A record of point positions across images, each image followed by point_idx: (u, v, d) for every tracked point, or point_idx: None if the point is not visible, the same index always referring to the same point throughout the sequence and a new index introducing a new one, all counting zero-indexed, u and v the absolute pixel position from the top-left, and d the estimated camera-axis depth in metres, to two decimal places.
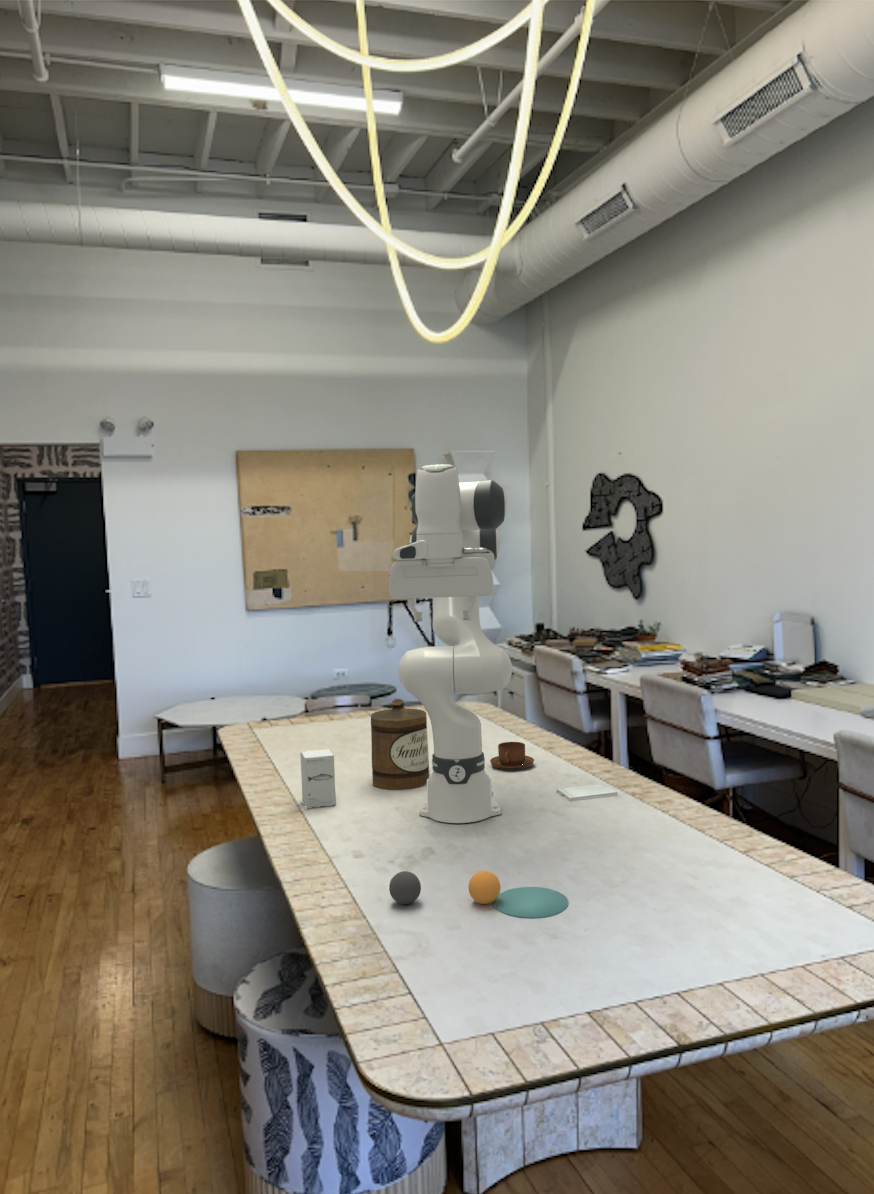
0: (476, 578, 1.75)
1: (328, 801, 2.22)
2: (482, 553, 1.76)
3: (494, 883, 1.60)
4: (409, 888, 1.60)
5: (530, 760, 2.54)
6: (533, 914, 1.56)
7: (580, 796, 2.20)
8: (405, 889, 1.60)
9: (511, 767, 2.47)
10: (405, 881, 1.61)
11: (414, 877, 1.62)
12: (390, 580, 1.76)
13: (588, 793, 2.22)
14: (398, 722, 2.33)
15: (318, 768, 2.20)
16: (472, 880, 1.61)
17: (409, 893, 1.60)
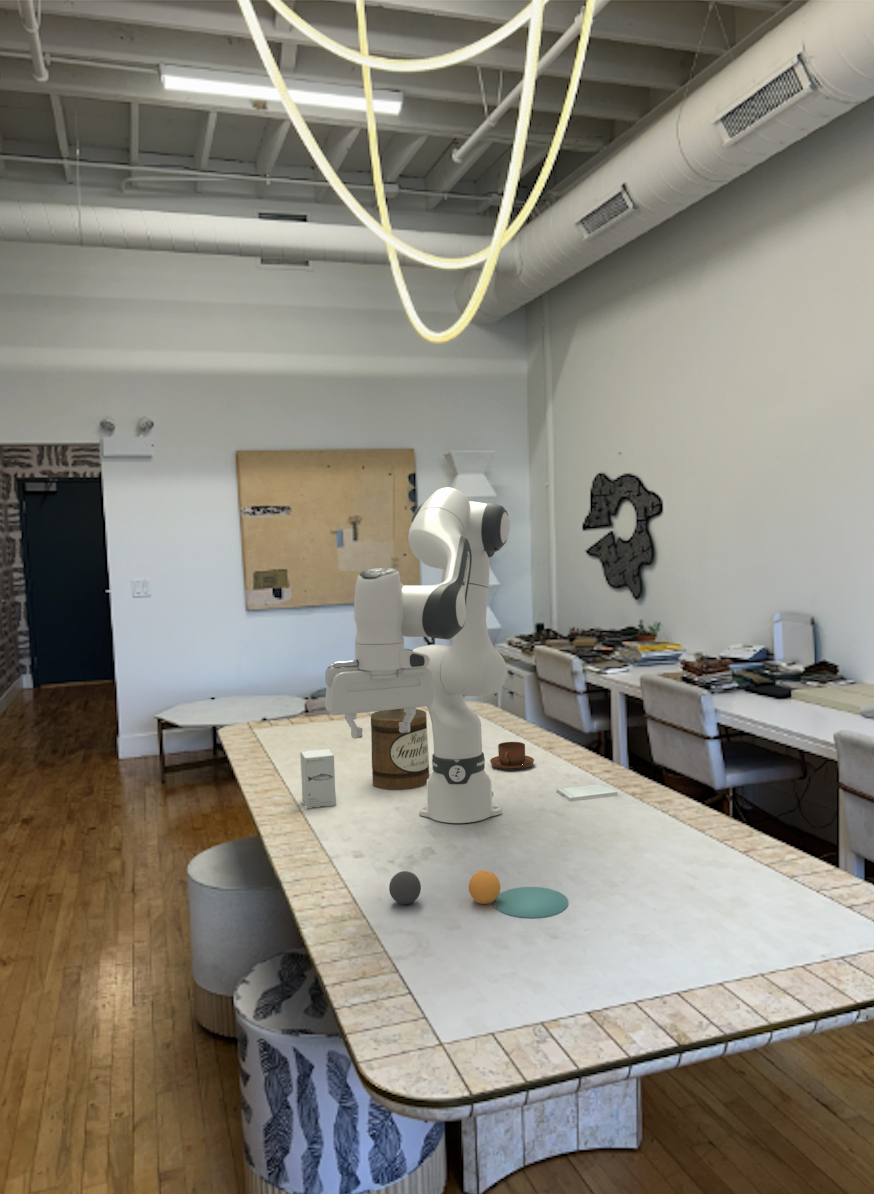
0: None
1: (328, 801, 2.22)
2: None
3: (494, 883, 1.60)
4: (409, 888, 1.60)
5: (530, 760, 2.54)
6: (533, 914, 1.56)
7: (580, 796, 2.20)
8: (405, 889, 1.60)
9: (511, 767, 2.47)
10: (405, 881, 1.61)
11: (414, 877, 1.62)
12: None
13: (588, 793, 2.22)
14: (398, 722, 2.33)
15: (318, 768, 2.20)
16: (472, 880, 1.61)
17: (409, 893, 1.60)
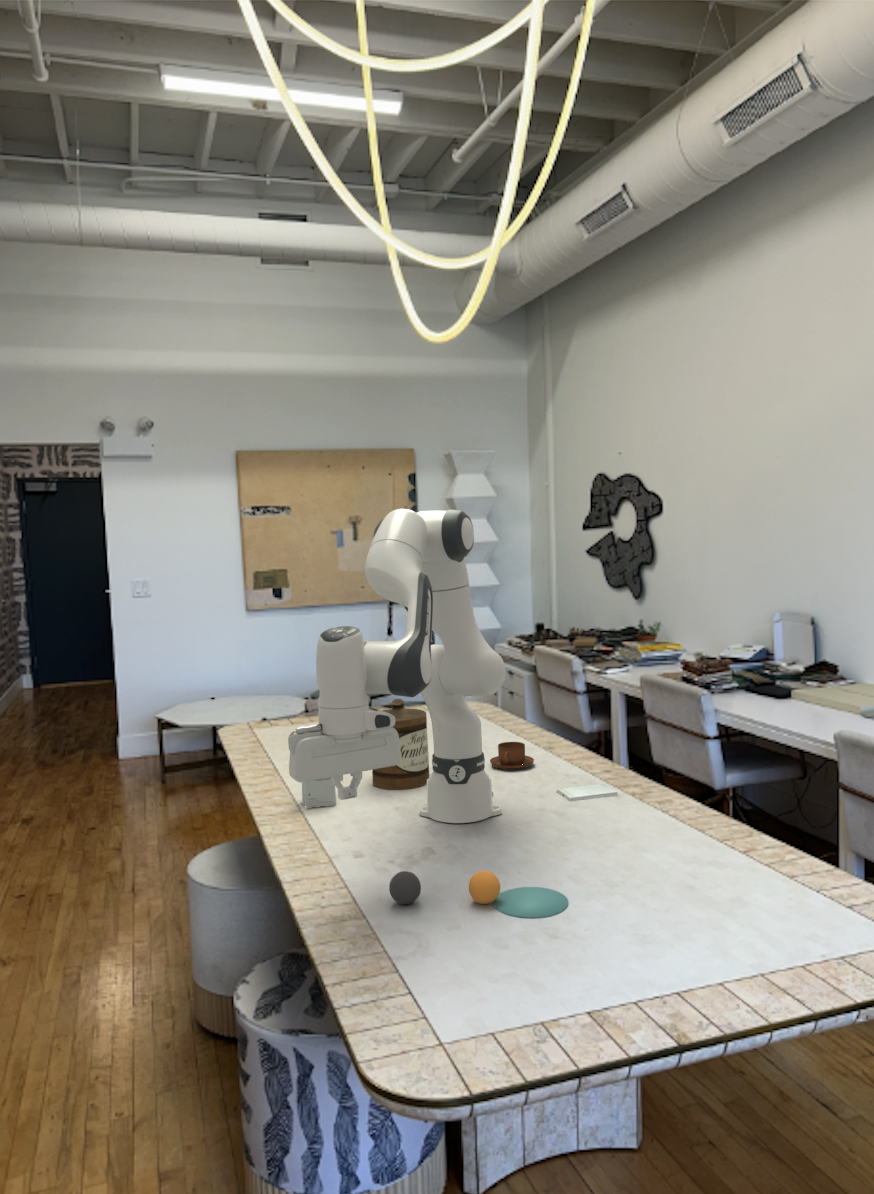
0: None
1: (328, 801, 2.22)
2: None
3: (494, 883, 1.60)
4: (409, 888, 1.60)
5: (530, 760, 2.54)
6: (533, 914, 1.56)
7: (580, 796, 2.20)
8: (405, 889, 1.60)
9: (511, 767, 2.47)
10: (405, 881, 1.61)
11: (414, 877, 1.62)
12: None
13: (588, 793, 2.22)
14: (398, 722, 2.33)
15: None
16: (472, 880, 1.61)
17: (409, 893, 1.60)
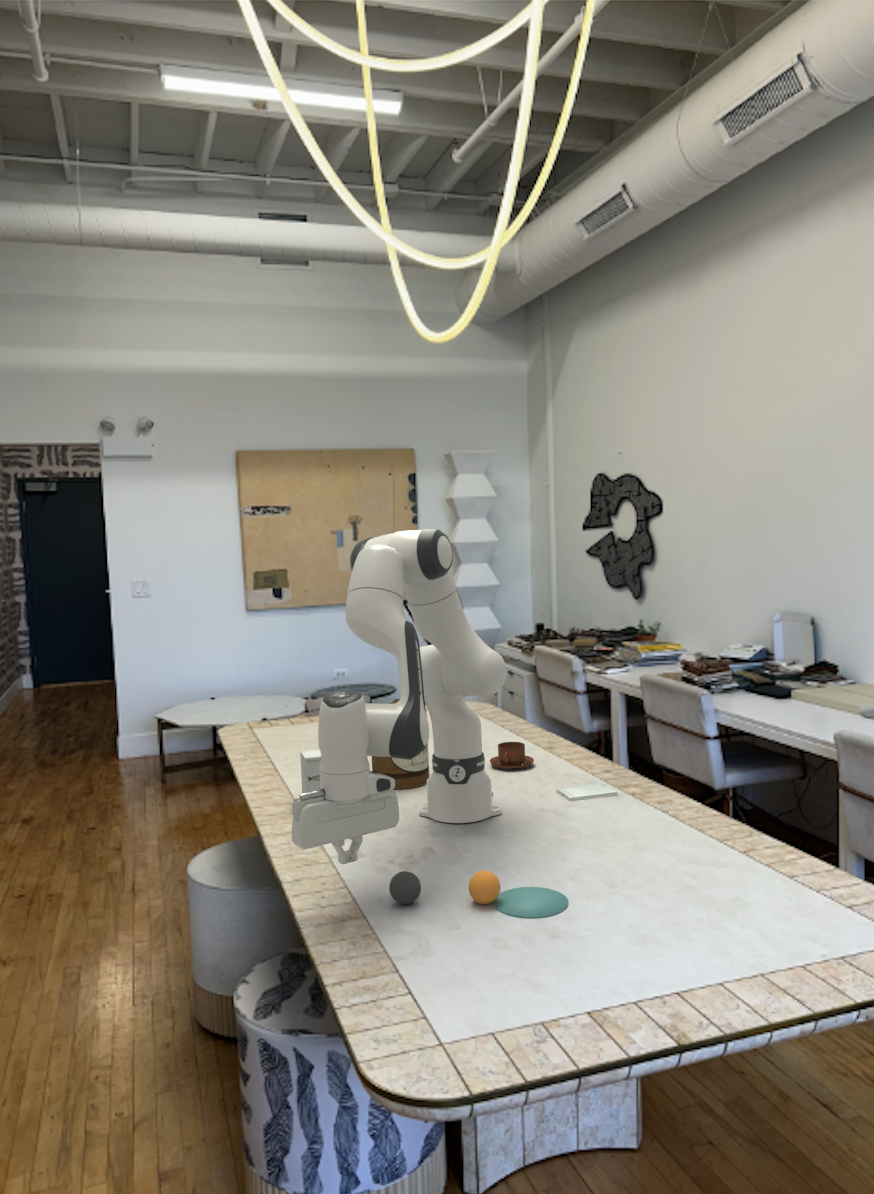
0: None
1: None
2: None
3: (494, 883, 1.60)
4: (409, 888, 1.60)
5: (530, 760, 2.54)
6: (533, 914, 1.56)
7: (580, 796, 2.20)
8: (405, 889, 1.60)
9: (511, 767, 2.47)
10: (405, 881, 1.61)
11: (414, 877, 1.62)
12: None
13: (588, 793, 2.22)
14: None
15: (318, 768, 2.20)
16: (472, 880, 1.61)
17: (409, 893, 1.60)
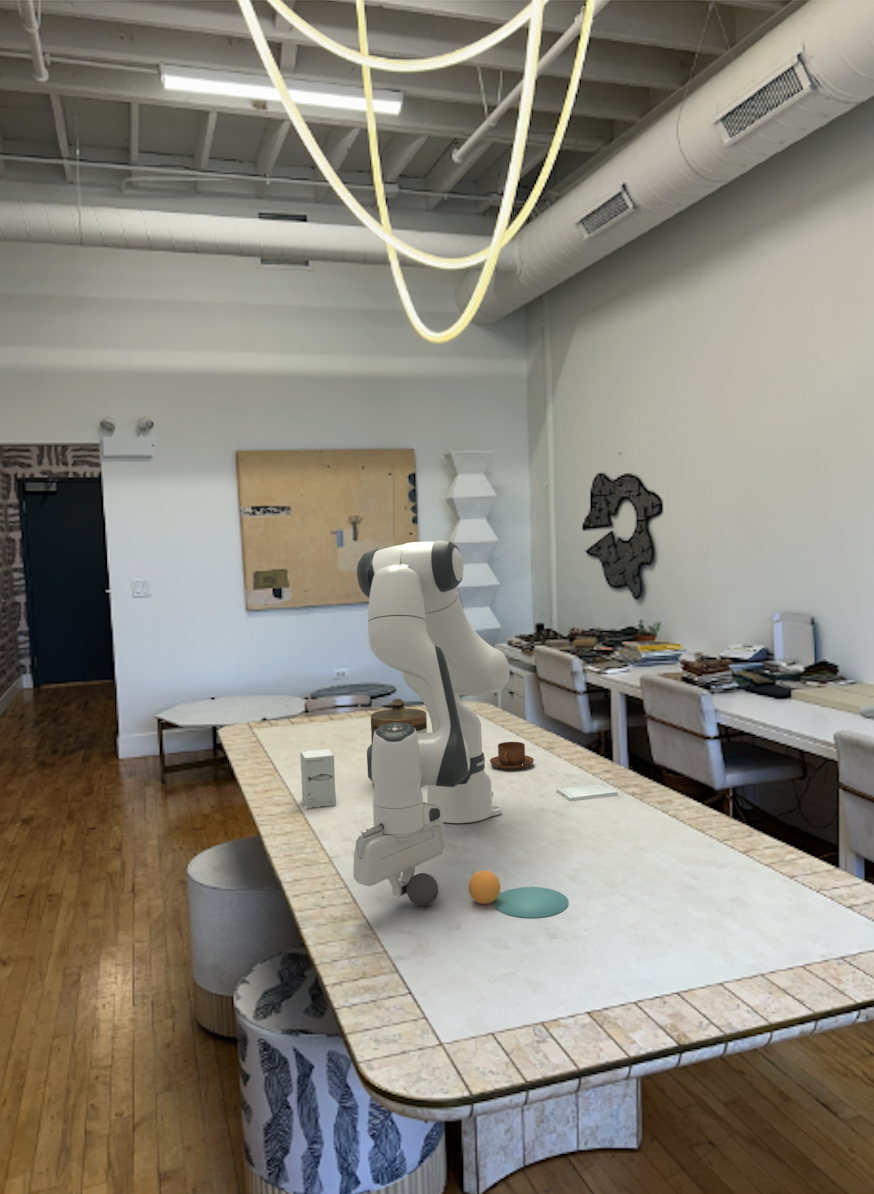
0: None
1: (328, 801, 2.22)
2: None
3: (494, 883, 1.60)
4: (427, 899, 1.59)
5: (530, 760, 2.54)
6: (533, 914, 1.56)
7: (580, 796, 2.20)
8: (424, 897, 1.59)
9: (511, 767, 2.47)
10: (429, 890, 1.59)
11: (437, 891, 1.61)
12: None
13: (588, 793, 2.22)
14: (398, 722, 2.33)
15: (318, 768, 2.20)
16: (472, 880, 1.61)
17: (424, 901, 1.59)
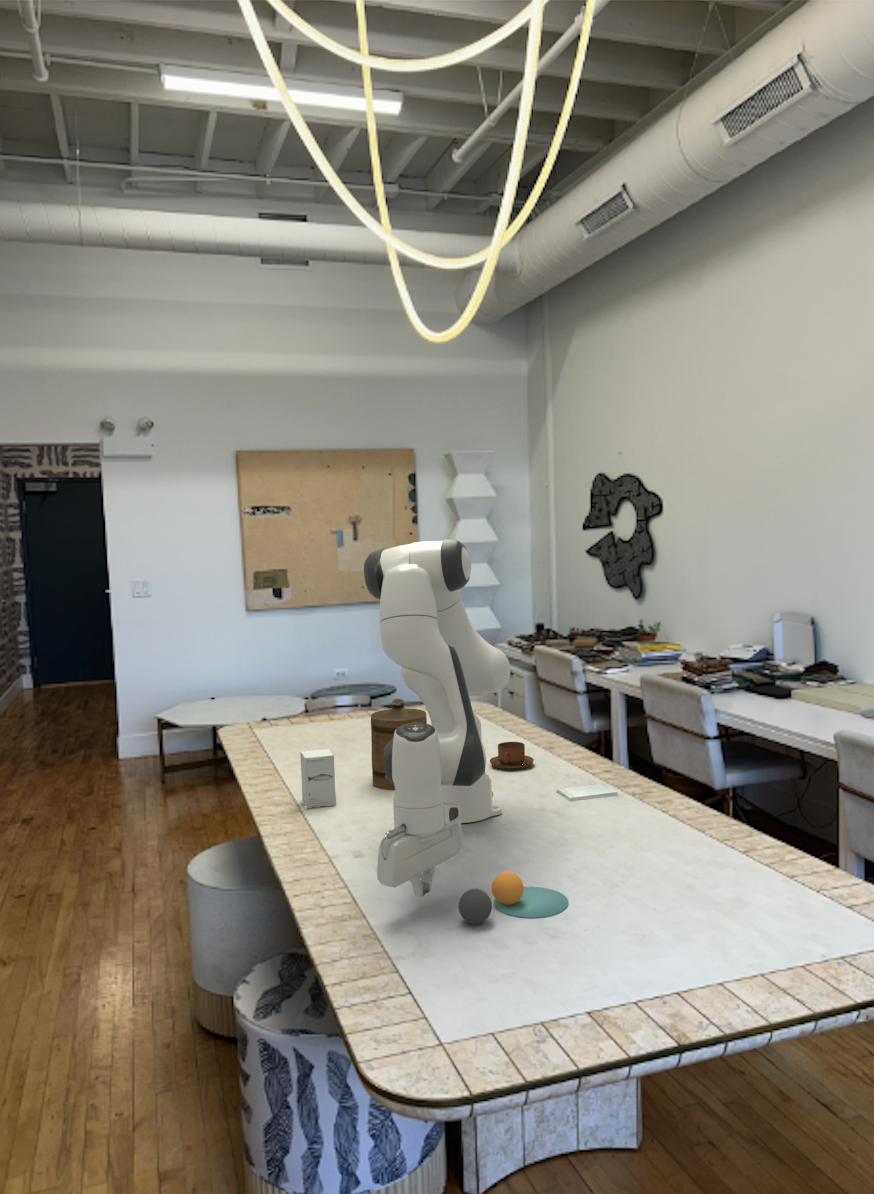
0: None
1: (328, 801, 2.22)
2: None
3: (515, 902, 1.59)
4: (459, 904, 1.53)
5: (530, 760, 2.54)
6: (533, 914, 1.56)
7: (580, 796, 2.20)
8: (458, 907, 1.53)
9: (511, 767, 2.47)
10: None
11: (466, 891, 1.54)
12: None
13: (588, 793, 2.22)
14: (398, 722, 2.33)
15: (318, 768, 2.20)
16: (514, 880, 1.59)
17: (459, 909, 1.53)
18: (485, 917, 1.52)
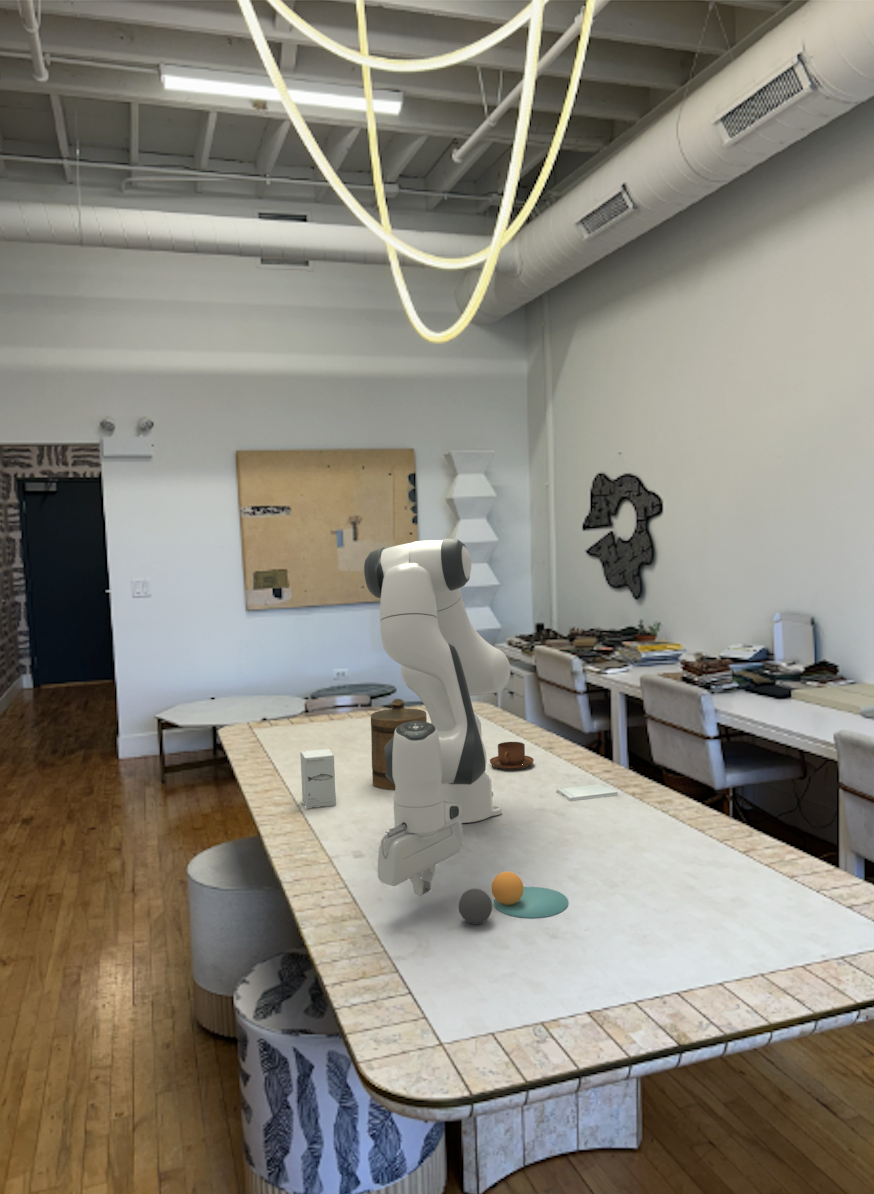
0: None
1: (328, 801, 2.22)
2: None
3: (515, 902, 1.59)
4: (459, 904, 1.53)
5: (530, 760, 2.54)
6: (533, 914, 1.56)
7: (580, 796, 2.20)
8: None
9: (511, 767, 2.47)
10: None
11: (466, 891, 1.54)
12: None
13: (588, 793, 2.22)
14: (398, 722, 2.33)
15: (318, 768, 2.20)
16: (514, 880, 1.59)
17: (460, 909, 1.53)
18: (485, 917, 1.52)
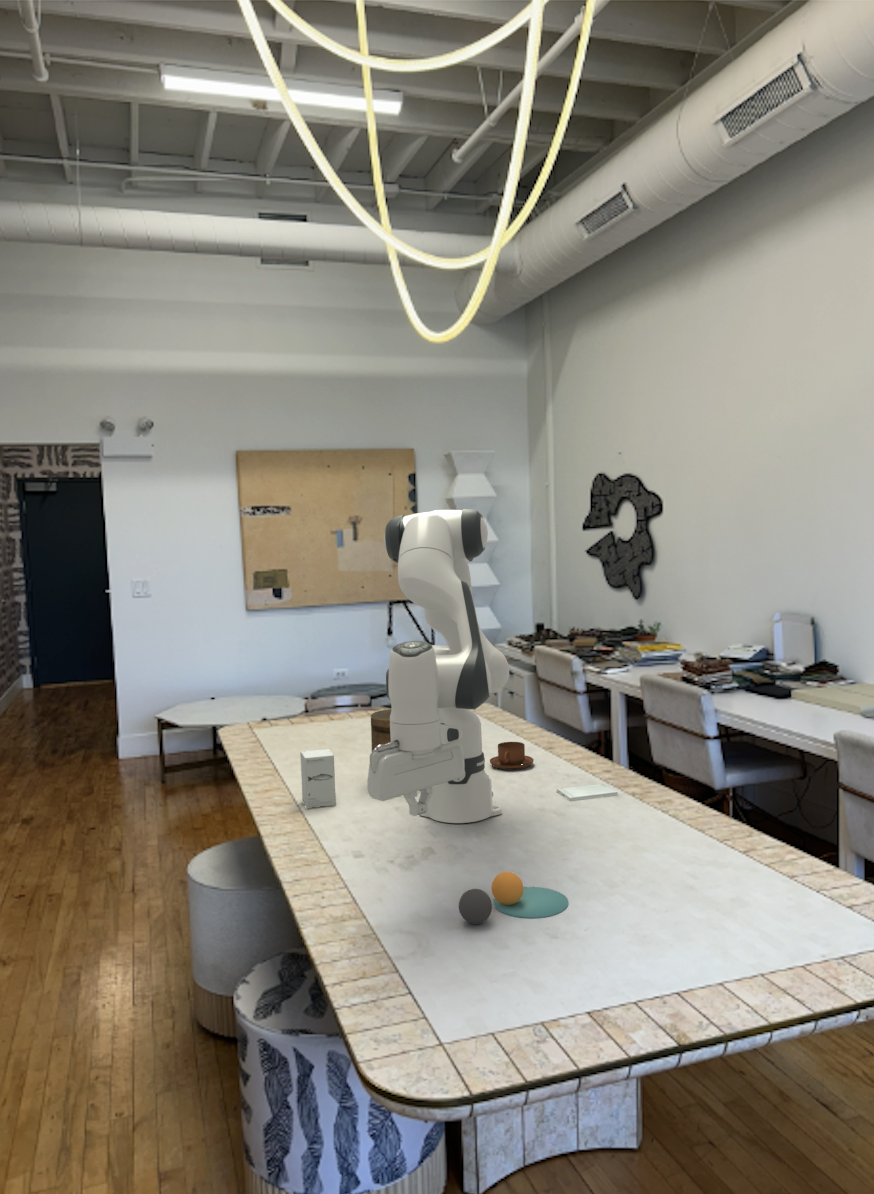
0: None
1: (328, 801, 2.22)
2: None
3: (515, 902, 1.59)
4: (459, 904, 1.53)
5: (530, 760, 2.54)
6: (533, 914, 1.56)
7: (580, 796, 2.20)
8: None
9: (511, 767, 2.47)
10: None
11: (466, 891, 1.54)
12: None
13: (588, 793, 2.22)
14: None
15: (318, 768, 2.20)
16: (514, 880, 1.59)
17: (460, 909, 1.53)
18: (485, 917, 1.52)
